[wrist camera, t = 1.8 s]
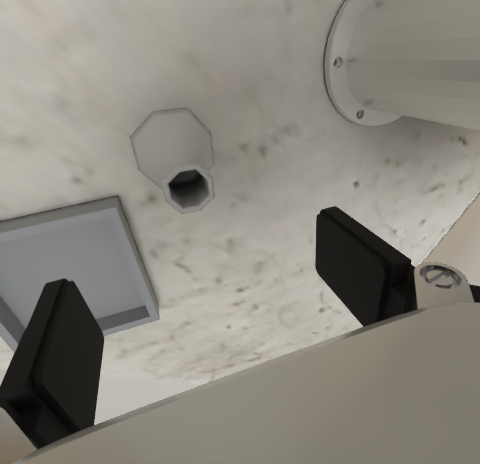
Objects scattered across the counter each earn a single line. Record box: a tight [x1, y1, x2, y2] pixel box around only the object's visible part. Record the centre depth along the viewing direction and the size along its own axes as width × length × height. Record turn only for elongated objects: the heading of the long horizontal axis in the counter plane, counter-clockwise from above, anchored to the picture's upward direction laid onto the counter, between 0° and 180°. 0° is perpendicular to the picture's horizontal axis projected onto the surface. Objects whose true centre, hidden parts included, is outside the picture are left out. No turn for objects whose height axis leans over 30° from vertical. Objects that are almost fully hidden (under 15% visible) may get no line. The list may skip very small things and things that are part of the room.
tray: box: [0, 196, 159, 353], centre depth 28 cm, size 14×14×3 cm
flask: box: [130, 108, 215, 214], centre depth 22 cm, size 7×7×10 cm
